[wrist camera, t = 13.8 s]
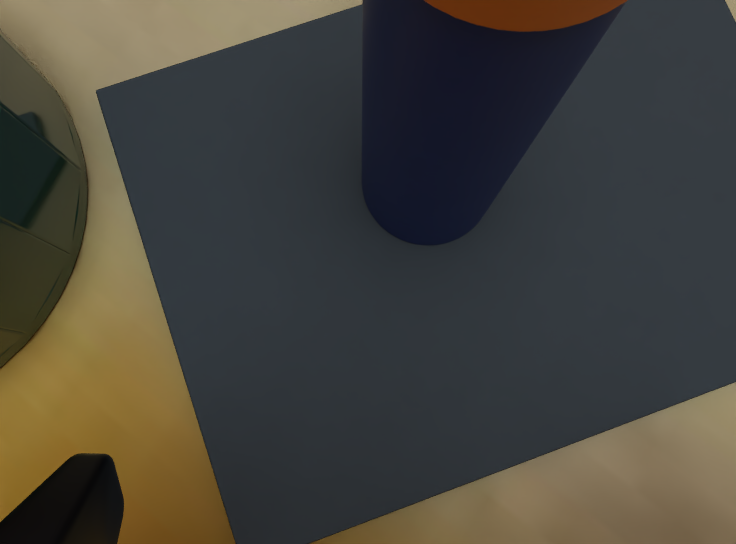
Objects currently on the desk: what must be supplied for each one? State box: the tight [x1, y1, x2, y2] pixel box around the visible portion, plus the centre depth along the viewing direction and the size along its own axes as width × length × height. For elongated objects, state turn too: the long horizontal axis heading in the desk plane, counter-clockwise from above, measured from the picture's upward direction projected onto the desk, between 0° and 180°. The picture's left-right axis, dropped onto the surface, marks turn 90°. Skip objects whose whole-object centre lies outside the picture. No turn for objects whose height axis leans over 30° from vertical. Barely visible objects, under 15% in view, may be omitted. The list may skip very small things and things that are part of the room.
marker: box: [362, 0, 627, 245], centre depth 11 cm, size 3×3×12 cm
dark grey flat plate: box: [96, 0, 736, 544], centre depth 17 cm, size 12×16×1 cm
